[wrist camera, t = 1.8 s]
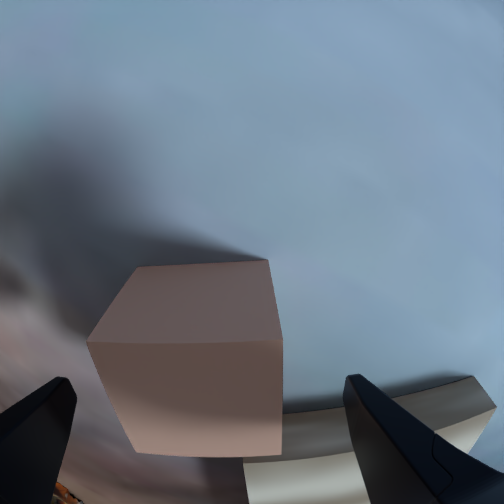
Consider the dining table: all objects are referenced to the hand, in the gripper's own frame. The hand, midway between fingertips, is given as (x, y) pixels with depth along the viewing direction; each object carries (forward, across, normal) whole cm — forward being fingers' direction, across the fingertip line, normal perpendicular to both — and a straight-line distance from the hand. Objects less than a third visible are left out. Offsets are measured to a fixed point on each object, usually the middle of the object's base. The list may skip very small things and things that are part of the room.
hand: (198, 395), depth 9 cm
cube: (+4, 0, 0) cm, 4 cm away
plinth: (+4, -8, +13) cm, 16 cm away
